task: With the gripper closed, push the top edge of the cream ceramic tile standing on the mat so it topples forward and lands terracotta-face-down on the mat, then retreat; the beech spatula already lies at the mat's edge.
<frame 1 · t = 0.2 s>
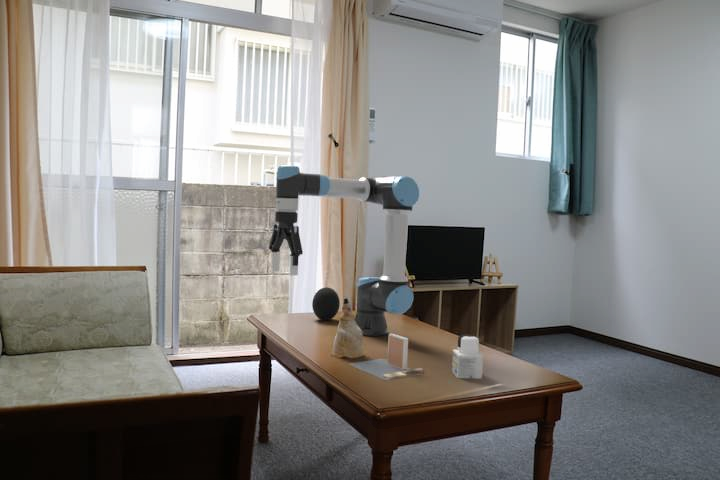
hand: (284, 272, 194), 28 cm above the table, fingers open, 13 cm apart
decorative egg: (325, 320, 255), on the table
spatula: (402, 375, 174), point 1 cm above the table, touching mat
container: (466, 377, 178), on the table
mat: (384, 370, 180), on the table
tile: (396, 366, 183), point 1 cm above the table, touching mat
figurine: (347, 356, 196), on the table
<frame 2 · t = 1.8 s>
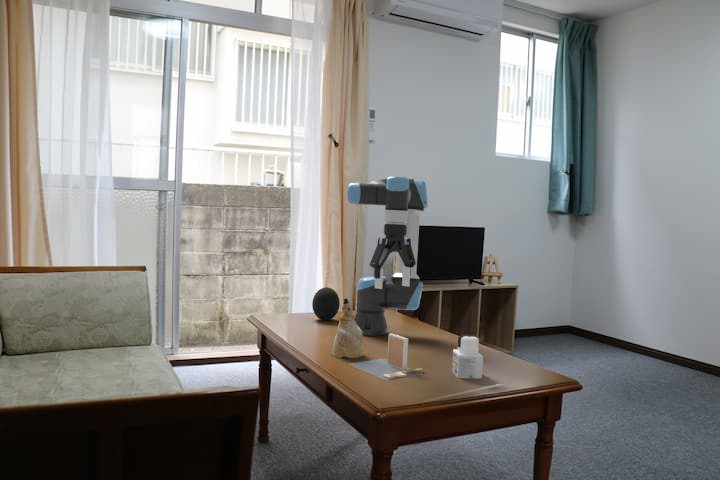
hand: (392, 287, 187), 26 cm above the table, fingers open, 13 cm apart
nothing on the table moved.
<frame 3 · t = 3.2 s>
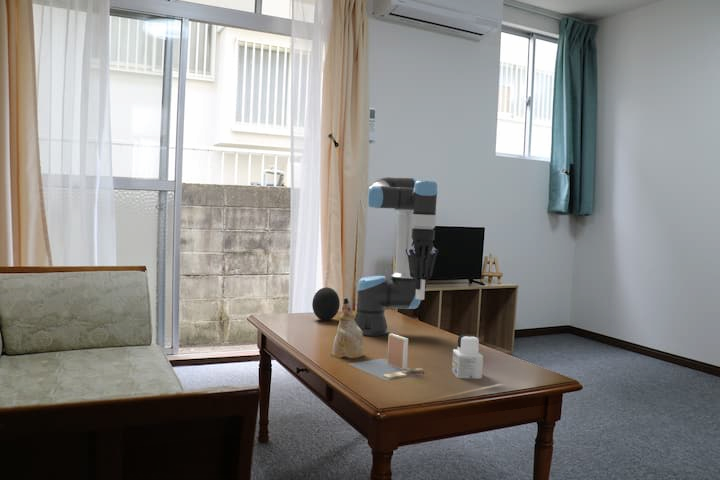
hand: (419, 299, 186), 22 cm above the table, fingers closed
nothing on the table moved.
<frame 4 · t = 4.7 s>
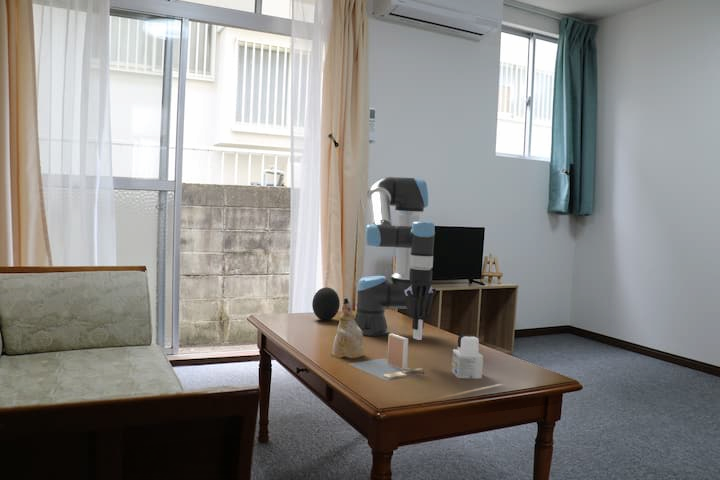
hand: (417, 338, 187), 9 cm above the table, fingers closed
nothing on the table moved.
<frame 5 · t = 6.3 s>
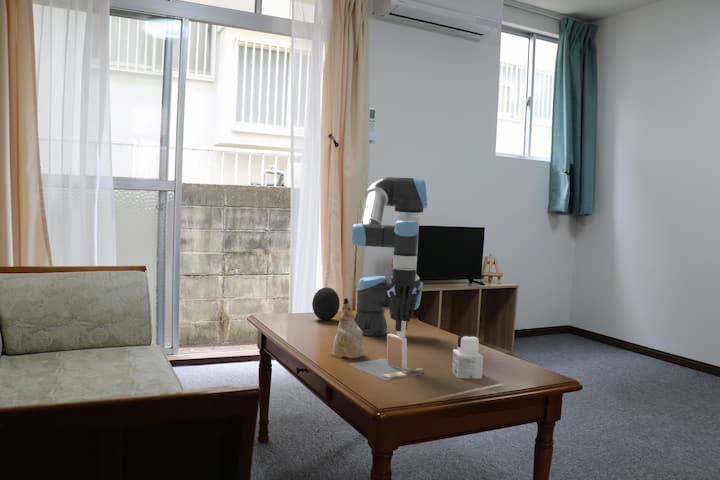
hand: (400, 340, 183), 9 cm above the table, fingers closed
tile: (396, 366, 183), point 1 cm above the table, touching gripper, mat
everything else where it was.
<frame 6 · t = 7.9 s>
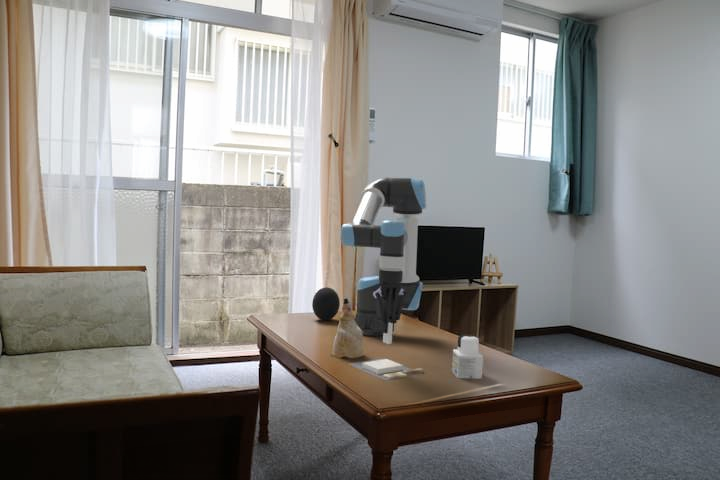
hand: (387, 342, 180), 9 cm above the table, fingers closed
tile: (394, 364, 182), point 1 cm above the table, tilted 90°, touching mat
everything else where it was.
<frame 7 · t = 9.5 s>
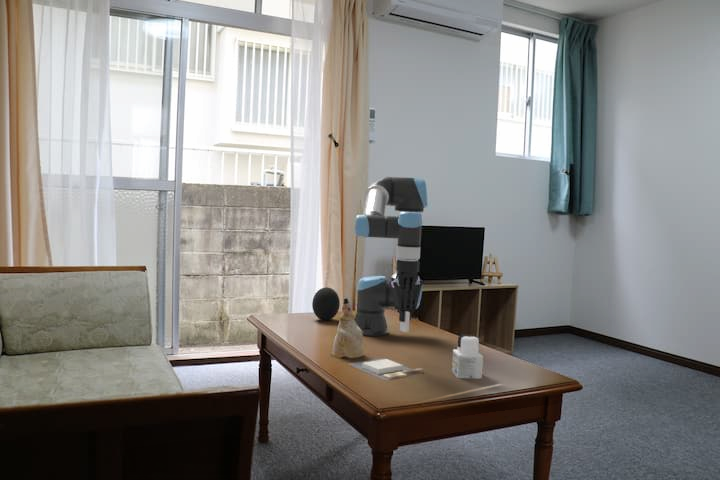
hand: (404, 331, 184), 12 cm above the table, fingers closed
nothing on the table moved.
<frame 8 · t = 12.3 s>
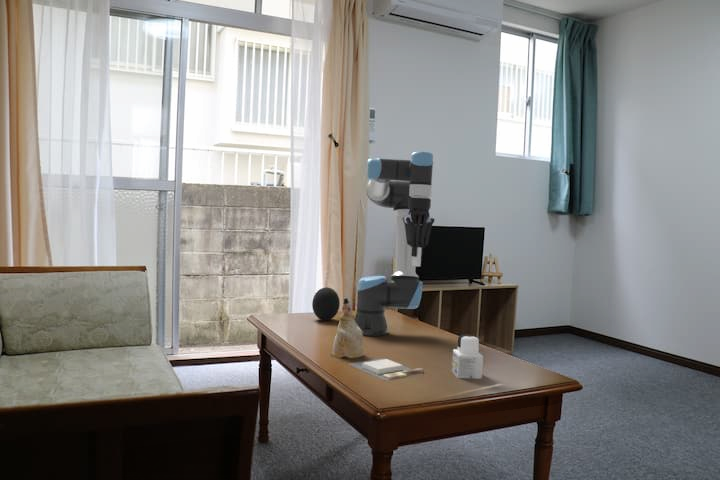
hand: (416, 266, 194), 32 cm above the table, fingers closed
nothing on the table moved.
at the end: tile tilted 90°; tile inside the target area (5.0 cm from its centre), point 1.4 cm above the table; tile touching mat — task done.
